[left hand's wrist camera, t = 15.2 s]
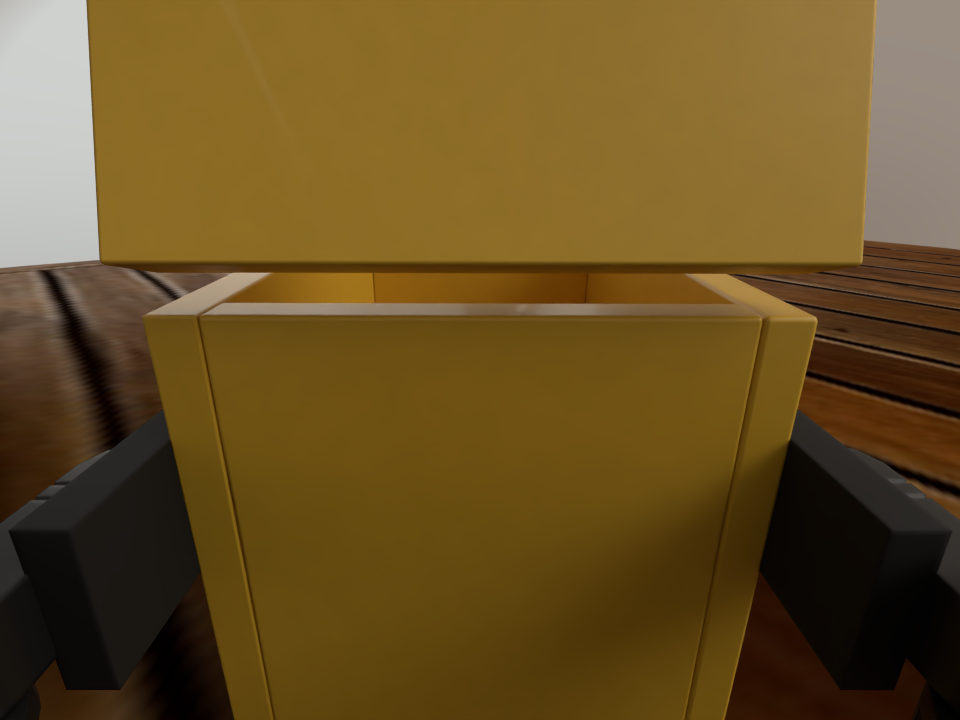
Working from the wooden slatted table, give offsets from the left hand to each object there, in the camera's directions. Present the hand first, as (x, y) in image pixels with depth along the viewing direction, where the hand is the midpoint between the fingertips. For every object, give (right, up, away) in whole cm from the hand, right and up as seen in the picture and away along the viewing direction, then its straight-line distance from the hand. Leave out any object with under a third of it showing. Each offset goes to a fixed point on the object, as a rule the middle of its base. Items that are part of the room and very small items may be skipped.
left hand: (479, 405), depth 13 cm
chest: (0, -5, +5) cm, 7 cm away
